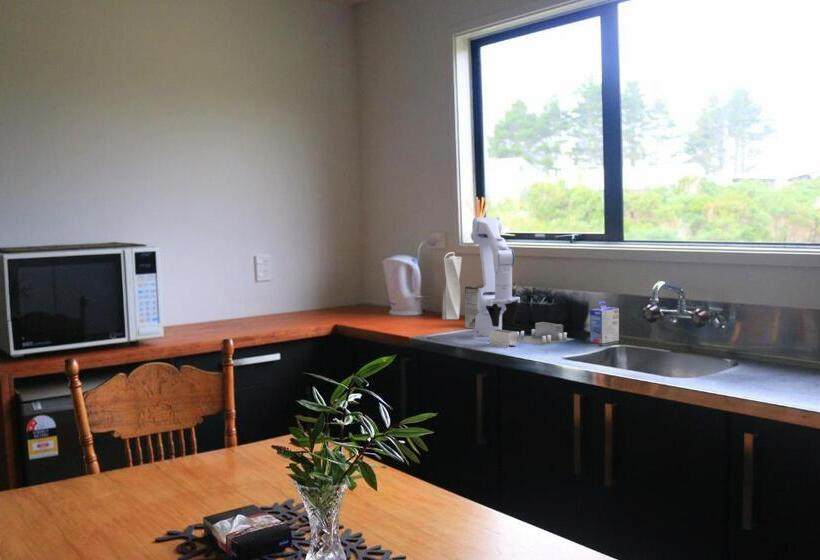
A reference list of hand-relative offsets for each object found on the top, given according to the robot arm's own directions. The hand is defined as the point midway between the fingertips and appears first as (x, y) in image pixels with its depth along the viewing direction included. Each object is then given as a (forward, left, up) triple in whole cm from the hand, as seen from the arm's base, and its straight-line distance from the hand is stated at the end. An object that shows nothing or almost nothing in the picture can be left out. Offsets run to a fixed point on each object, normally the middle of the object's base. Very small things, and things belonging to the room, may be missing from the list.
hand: (503, 325), depth 269 cm
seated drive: (+5, +18, -6) cm, 20 cm away
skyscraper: (-58, +31, -7) cm, 66 cm away
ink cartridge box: (+21, +28, -7) cm, 36 cm away
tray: (+5, +14, -7) cm, 16 cm away
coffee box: (-34, +22, -7) cm, 41 cm away
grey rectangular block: (0, 0, -7) cm, 7 cm away
